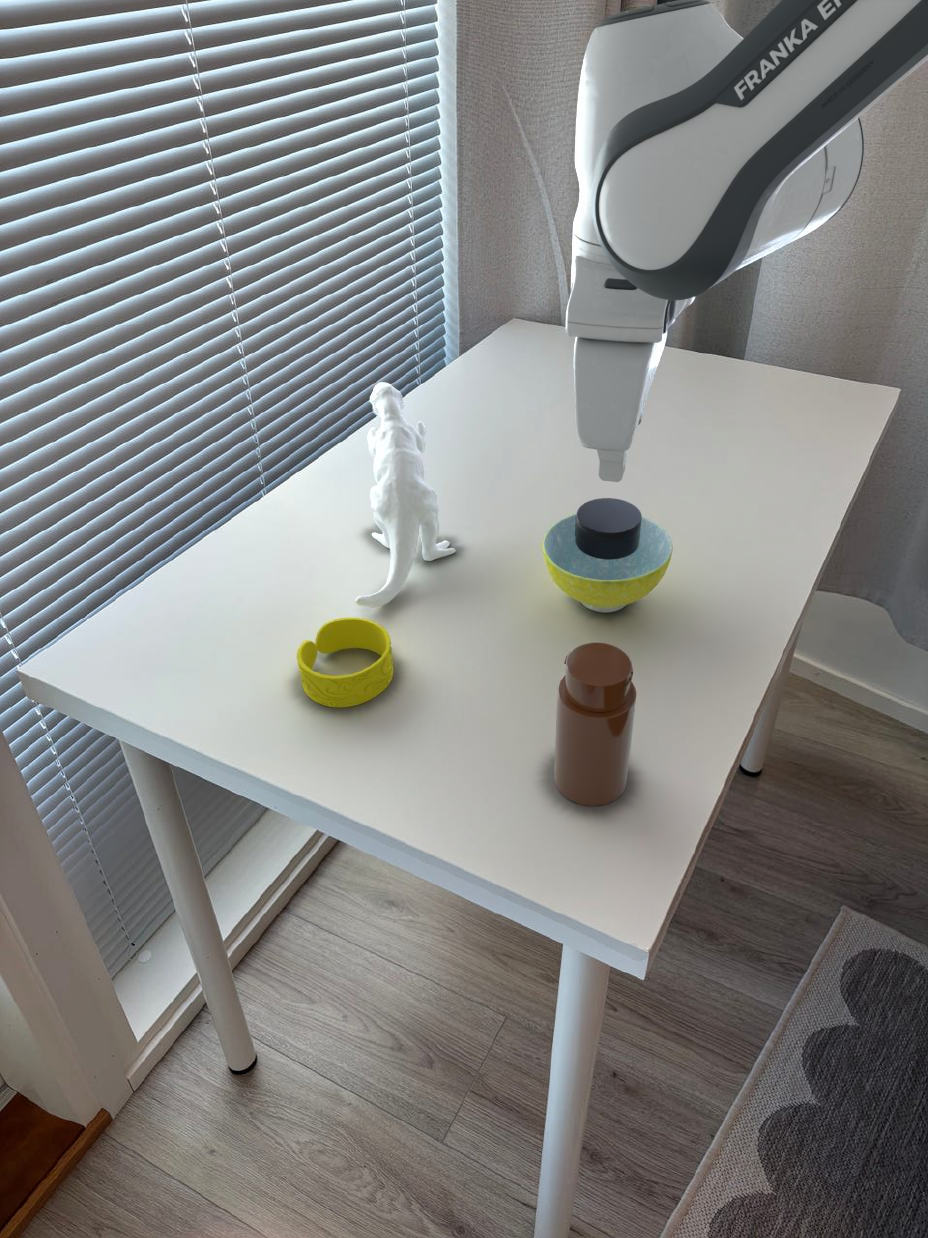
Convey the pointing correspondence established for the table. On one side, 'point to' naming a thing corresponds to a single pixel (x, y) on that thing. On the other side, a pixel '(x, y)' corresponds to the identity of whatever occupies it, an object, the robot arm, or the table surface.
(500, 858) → the table surface
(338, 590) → the table surface
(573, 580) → the bowl
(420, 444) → the dinosaur figurine
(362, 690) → the bracelet
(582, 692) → the jar
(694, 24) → the robot arm
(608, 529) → the lid
